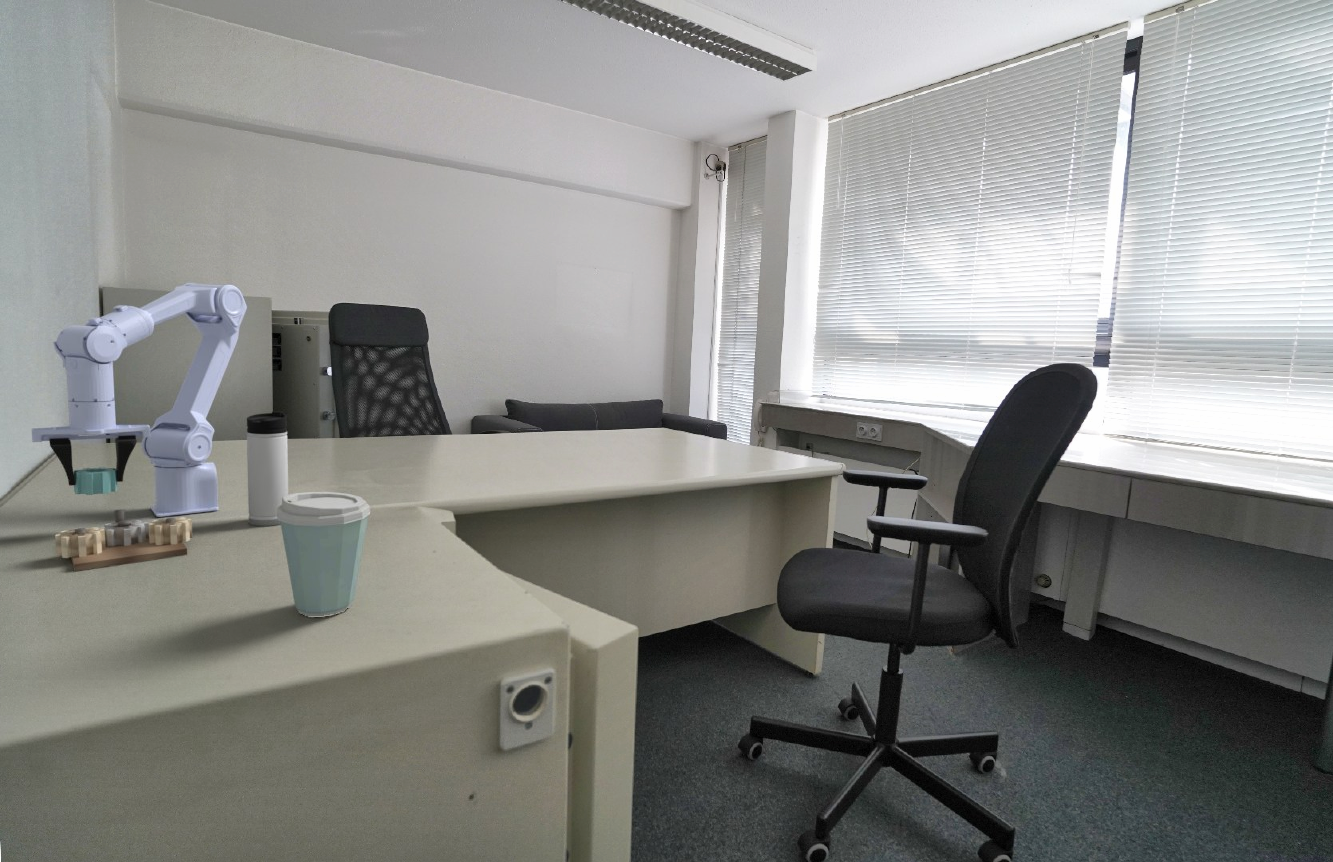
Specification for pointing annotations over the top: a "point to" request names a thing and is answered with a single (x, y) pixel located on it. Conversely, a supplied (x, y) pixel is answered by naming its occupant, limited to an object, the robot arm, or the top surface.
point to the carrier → (124, 542)
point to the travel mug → (266, 466)
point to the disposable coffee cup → (323, 548)
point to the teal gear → (95, 481)
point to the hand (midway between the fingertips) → (96, 482)
